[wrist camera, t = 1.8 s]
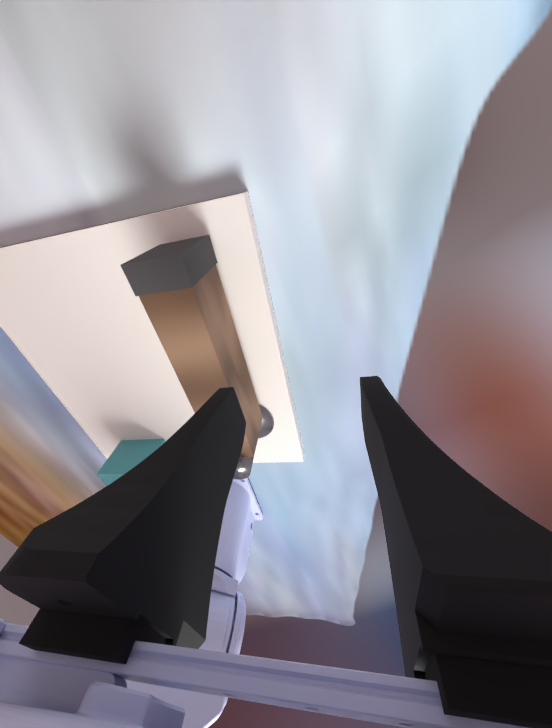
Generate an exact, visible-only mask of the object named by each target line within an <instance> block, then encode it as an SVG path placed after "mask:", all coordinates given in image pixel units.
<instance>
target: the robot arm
mask: <svg viewBox="0 0 552 728" xmlns="http://www.w3.org/2000/svg"><path fill="white" fill-rule="evenodd" d="M360 388H361V411H362V423H363V430H364V437H365V443H366V448H367V452H368V456H369V460H370V464H371V468H372V472H373V476H374V480H375V484H376V488H377V492H378V496H379V500H380V504H381V510H382V516H383V522H384V529H385V535H386V542H387V548H388V555H389V561H390V568H391V575H392V582H393V589H394V596H395V602H396V610H397V617H398V624H399V631H400V639H401V646H402V653H403V661H404V668H405V675H406V677H402V676H394V675H387V674H380V673H371V672H365V671H357V670H350V669H342V668H335V667H328V666H320V665H313V664H305V663H297V662H290V661H283V660H275V659H268V658H261V657H253V656H246V655H239V653H240V648H241V644H242V638H243V633H244V627H245V619H246V604H245V601H244V599H243V595H242V593H241V592H238V591H237V587H238V584H239V583H240V581H241V580H242V578H243V576H244V574H245V571H246V568H247V563H248V557H249V552H250V546H251V541H252V535H253V530H254V524H255V520H262V519H263V514H262V512H261V509H260V507H259V504H258V502H257V500H256V497H255V495H254V492H253V490H252V487H251V485H250V483H249V480H248V478H246V479H241V480H238V479H233V478H234V475H235V471H236V468H237V464H238V461H239V458H240V454H241V451H242V447H243V442H244V436H245V429H246V420H245V417H244V415H243V412H242V409H241V406H240V403H239V400H238V398H237V395H236V392H235V389H234V387H227V388H219V389H218V390H217V391H216V392H215V393H214V394H213V395H212V396H211V397H210V398H209V399H208V400H207V401H206V402H205V403H204V404H203V406H202V407H201V408H200V409H199V410H198V411H197V412H196V413H195V414H194V415H193V416H192V417H191V418H190V419H189V420H188V421H187V422H186V423H185V424H184V425H183V426H182V427H181V428H180V429H179V430H177V431H176V432H175V433H174V434H173V435H172V436H171V437H170V438H169V439H168V440H167V441H166V442H165V443H163V444H162V445H161V446H160V447H159V448H158V449H157V450H155V451H154V452H153V453H152V454H150V455H149V456H148V457H147V458H145V459H144V460H143V461H142V462H140V463H139V464H138V465H136V466H135V467H134V468H132V469H131V470H129V471H128V472H127V473H125V474H124V475H122V476H121V477H120V478H118V479H117V480H115V481H114V482H112V483H111V484H109V485H108V486H106V487H105V488H103V489H102V490H100V491H99V492H97V493H95V494H94V495H92V496H91V497H89V498H87V499H86V500H84V501H82V502H81V503H79V504H77V505H76V506H74V507H72V508H70V509H68V510H67V511H65V512H63V513H61V514H59V515H57V516H56V517H54V518H52V519H50V520H48V521H47V522H45V523H43V524H41V525H39V526H37V527H35V528H34V529H33V530H32V531H31V532H30V534H29V535H28V536H27V538H26V539H25V540H24V542H23V543H22V544H21V545H20V547H19V548H18V549H17V551H16V552H15V554H14V555H13V556H12V557H11V558H10V560H9V561H8V563H7V564H6V565H5V566H4V568H3V569H2V570H1V571H0V584H1V585H2V586H3V587H4V588H6V589H7V590H9V591H10V592H12V593H13V594H15V595H17V596H19V597H21V598H23V599H24V600H26V601H28V602H30V603H31V604H33V605H35V606H37V607H39V608H40V610H39V611H38V613H37V615H36V616H35V618H34V619H33V621H32V623H31V624H30V626H22V625H16V624H8V623H6V622H5V621H4V620H2V619H0V728H208V727H209V726H210V725H212V724H213V723H214V722H215V721H216V720H217V719H218V718H219V716H220V715H221V713H222V711H223V707H224V706H225V705H226V702H227V698H228V697H229V698H235V699H242V700H247V701H253V702H259V703H265V704H271V705H276V706H282V707H288V708H294V709H300V710H306V711H312V712H318V713H324V714H329V715H335V716H341V717H347V718H353V719H359V720H365V721H371V722H377V723H383V724H388V725H395V726H400V727H406V728H552V532H551V531H549V530H548V529H546V528H545V527H543V526H541V525H540V524H538V523H537V522H535V521H534V520H532V519H530V518H529V517H527V516H526V515H524V514H523V513H521V512H520V511H518V510H517V509H516V508H514V507H513V506H511V505H510V504H508V503H507V502H506V501H504V500H503V499H501V498H500V497H499V496H497V495H496V494H495V493H494V492H492V491H491V490H490V489H488V488H487V487H486V486H484V485H483V484H482V483H480V482H479V481H478V480H476V479H475V478H474V477H472V476H471V475H470V474H469V473H467V472H466V471H465V470H464V469H462V468H461V467H460V466H459V465H458V464H457V463H456V462H454V461H453V460H452V459H451V458H450V457H449V456H447V455H446V454H445V453H444V452H443V451H442V450H441V449H440V448H439V447H438V446H437V445H436V444H434V443H433V442H432V441H431V440H430V439H429V438H428V437H427V436H426V435H425V434H424V432H422V430H421V429H420V428H419V427H418V426H417V425H416V424H415V423H414V422H413V421H412V420H411V418H410V417H409V416H408V415H407V414H406V413H405V411H404V410H403V409H402V408H401V407H400V405H399V404H398V403H397V402H396V400H395V399H394V398H393V396H392V395H391V394H390V392H389V391H388V389H387V388H386V387H385V385H384V383H383V382H382V380H381V378H379V377H378V376H371V377H360Z"/></svg>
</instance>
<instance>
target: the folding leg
mask: <svg viewBox="0 0 552 728" xmlns="http://www.w3.org/2000/svg"><path fill="white" fill-rule="evenodd" d="M217 263H218V262H217V259H216V256H215V252H214V249H213V246H212V242H211V239H210V236H209V235H205V236H200V237H195V238H190V239H185V240H180V241H175V242H170V243H165V244H160V245H158V246H156V247H154V248H152V249H150V250H148V251H146V252H144V253H142V254H141V255H139V256H137V257H135V258H133V259H131V260H129V261H127V262H125V263H123V264H121V268H122V270H123V272H124V274H125V276H126V278H127V280H128V282H129V284H130V286H131V288H132V290H133V292H134V294H135V296H139V298H140V300H141V302H142V304H143V306H144V308H145V310H146V313H147V315H148V317H149V319H150V321H151V323H152V325H153V327H154V329H155V331H156V333H157V336H158V338H159V340H160V342H161V344H162V346H163V348H164V350H165V352H166V354H167V356H168V358H169V361H170V363H171V365H172V367H173V369H174V371H175V373H176V375H177V377H178V379H179V381H180V383H181V386H182V388H183V390H184V392H185V394H186V396H187V398H188V400H189V402H190V404H191V406H192V408H193V411H194V413H196V412H197V411H198V410H199V409H200V408H201V407H202V406H203V404H204V403H205V402H206V401H207V400H208V399H209V398H210V397H211V396H212V395H213V394H214V393H215V392H216V391H217V390H218V389H219V388H227V387H234V389H235V392H236V395H237V398H238V400H239V403H240V406H241V409H242V412H243V415H244V417H245V420H246V429H245V436H244V442H243V447H242V451H241V454H240V458H239V461H238V464H237V468H236V471H235V475H234V478H233V479H238V480H241V479H246V478H247V477H249V475H250V472H251V468H252V463H253V459H254V454H255V450H256V446H257V441H258V437H259V432H260V428H261V423H262V419H263V417H262V413H261V410H260V407H259V403H258V400H257V397H256V394H255V390H254V387H253V384H252V381H251V377H250V374H249V371H248V368H247V364H246V361H245V358H244V354H243V351H242V348H241V345H240V341H239V338H238V335H237V332H236V328H235V325H234V322H233V319H232V315H231V312H230V309H229V305H228V302H227V299H226V296H225V292H224V289H223V286H222V283H221V279H220V276H219V273H218V270H217V266H216V264H217Z"/></svg>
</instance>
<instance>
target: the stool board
mask: <svg viewBox="0 0 552 728" xmlns="http://www.w3.org/2000/svg"><path fill="white" fill-rule="evenodd" d="M205 235H209V236H210V239H211V242H212V246H213V249H214V252H215V256H216V259H217V262H218V263H217V264H216V266H217V270H218V273H219V276H220V279H221V283H222V286H223V289H224V292H225V296H226V299H227V302H228V305H229V309H230V312H231V315H232V319H233V322H234V325H235V328H236V332H237V335H238V338H239V341H240V345H241V348H242V351H243V354H244V358H245V361H246V364H247V368H248V371H249V374H250V377H251V381H252V384H253V387H254V390H255V394H256V397H257V400H258V403H259V407H260V410H261V413H262V417H263V419H262V423H261V428H260V432H259V437H258V441H257V446H256V450H255V454H254V459H253V463H258V462H304V448H303V443H302V439H301V434H300V429H299V425H298V420H297V415H296V411H295V406H294V401H293V397H292V392H291V388H290V383H289V378H288V374H287V369H286V364H285V360H284V355H283V351H282V346H281V341H280V337H279V332H278V327H277V323H276V318H275V314H274V309H273V304H272V300H271V295H270V290H269V286H268V281H267V276H266V272H265V267H264V263H263V258H262V253H261V249H260V244H259V239H258V235H257V230H256V226H255V221H254V216H253V212H252V207H251V202H250V198H249V193H248V191H247V192H243V193H239V194H234V195H230V196H226V197H221V198H217V199H212V200H208V201H204V202H199V203H195V204H190V205H186V206H182V207H177V208H173V209H168V210H164V211H160V212H155V213H151V214H147V215H142V216H138V217H133V218H129V219H125V220H120V221H116V222H111V223H107V224H103V225H98V226H94V227H89V228H85V229H81V230H76V231H72V232H68V233H63V234H59V235H54V236H50V237H46V238H41V239H37V240H32V241H28V242H24V243H19V244H15V245H11V246H6V247H2V248H0V326H1V328H2V329H3V330H4V331H5V333H6V334H7V335H8V336H9V338H10V339H11V340H12V341H13V343H14V344H15V345H16V346H17V348H18V349H19V350H20V351H21V353H22V354H23V355H24V356H25V357H26V359H27V360H28V361H29V362H30V364H31V365H32V366H33V367H34V369H35V370H36V371H37V372H38V374H39V375H40V376H41V377H42V379H43V380H44V381H45V382H46V384H47V385H48V386H49V387H50V389H51V390H52V391H53V392H54V394H55V395H56V396H57V397H58V399H59V400H60V401H61V402H62V403H63V405H64V406H65V407H66V408H67V410H68V411H69V412H70V413H71V415H72V416H73V417H74V418H75V420H76V421H77V422H78V423H79V425H80V426H81V427H82V428H83V430H84V431H85V432H86V433H87V435H88V436H89V437H90V438H91V440H92V441H93V442H94V443H95V445H96V446H97V447H98V448H99V449H100V451H101V452H102V453H103V454H104V456H105V457H106V458H107V461H106V462H105V463H104V465H103V466H102V468H101V469H100V470H99V472H98V473H97V475H98V476H99V477H100V478H101V480H102V481H103V482H104V483H105V484H106V485H107V486H108V485H109V484H111V483H112V482H114V481H115V480H117V479H118V478H120V477H121V476H122V475H124V474H125V473H127V472H128V471H129V470H131V469H132V468H134V467H135V466H136V465H138V464H139V463H140V462H142V461H143V460H144V459H145V458H147V457H148V456H149V455H150V454H152V453H153V452H154V451H155V450H157V449H158V448H159V447H160V446H161V445H162V444H163V443H165V442H166V441H167V440H168V439H169V438H170V437H171V436H172V435H173V434H174V433H175V432H176V431H177V430H179V429H180V428H181V427H182V426H183V425H184V424H185V423H186V422H187V421H188V420H189V419H190V418H191V417H192V416H193V415H194V414H195V413H194V411H193V408H192V406H191V404H190V402H189V400H188V398H187V396H186V394H185V392H184V390H183V388H182V386H181V383H180V381H179V379H178V377H177V375H176V373H175V371H174V369H173V367H172V365H171V363H170V361H169V358H168V356H167V354H166V352H165V350H164V348H163V346H162V344H161V342H160V340H159V338H158V336H157V333H156V331H155V329H154V327H153V325H152V323H151V321H150V319H149V317H148V315H147V313H146V310H145V308H144V306H143V304H142V302H141V300H140V298H139V296H135V294H134V292H133V290H132V288H131V286H130V284H129V282H128V280H127V278H126V276H125V274H124V272H123V270H122V268H121V264H123V263H125V262H127V261H129V260H131V259H133V258H135V257H137V256H139V255H141V254H142V253H144V252H146V251H148V250H150V249H152V248H154V247H156V246H158V245H160V244H165V243H170V242H175V241H180V240H185V239H190V238H195V237H200V236H205Z"/></svg>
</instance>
